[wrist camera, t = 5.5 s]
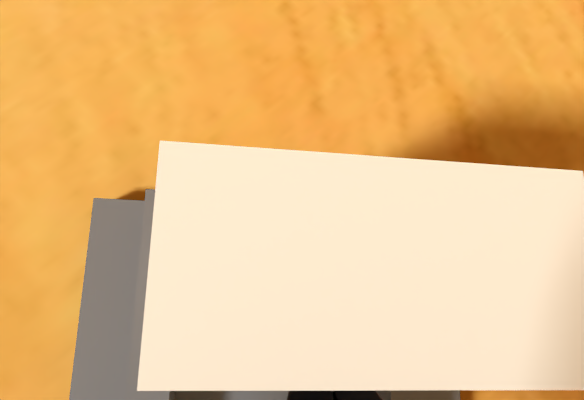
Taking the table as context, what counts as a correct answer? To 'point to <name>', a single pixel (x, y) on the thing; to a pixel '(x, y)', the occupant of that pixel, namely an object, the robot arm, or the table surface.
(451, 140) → the table surface
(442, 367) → the tab
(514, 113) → the table surface
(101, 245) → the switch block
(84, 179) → the table surface
